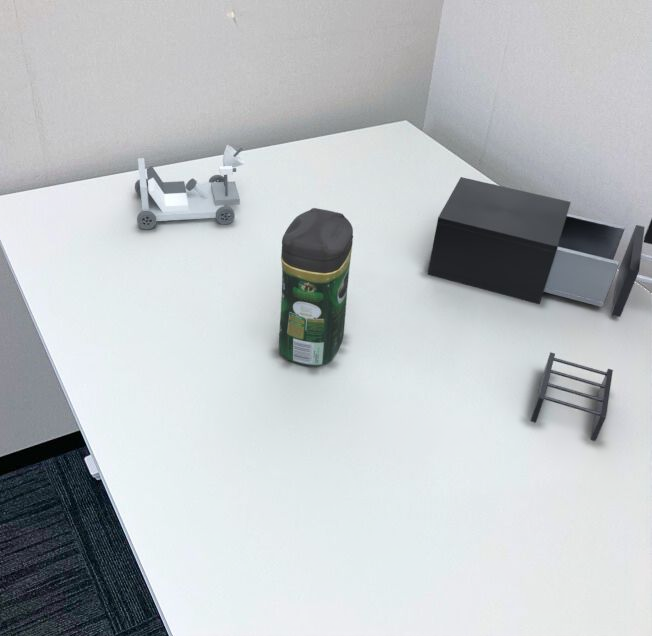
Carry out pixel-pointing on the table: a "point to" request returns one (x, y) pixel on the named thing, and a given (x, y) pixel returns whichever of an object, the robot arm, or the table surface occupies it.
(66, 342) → the table surface
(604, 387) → the rack
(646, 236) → the robot arm
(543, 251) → the box
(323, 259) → the coffee jar
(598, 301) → the grey drawer
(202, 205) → the toy car
